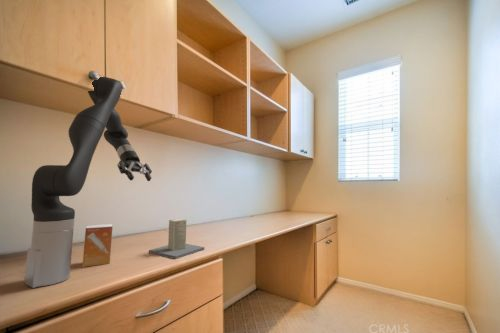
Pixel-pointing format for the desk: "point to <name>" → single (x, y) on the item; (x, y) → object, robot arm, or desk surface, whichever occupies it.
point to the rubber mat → (176, 251)
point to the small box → (97, 245)
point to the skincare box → (177, 234)
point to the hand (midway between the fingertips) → (141, 179)
